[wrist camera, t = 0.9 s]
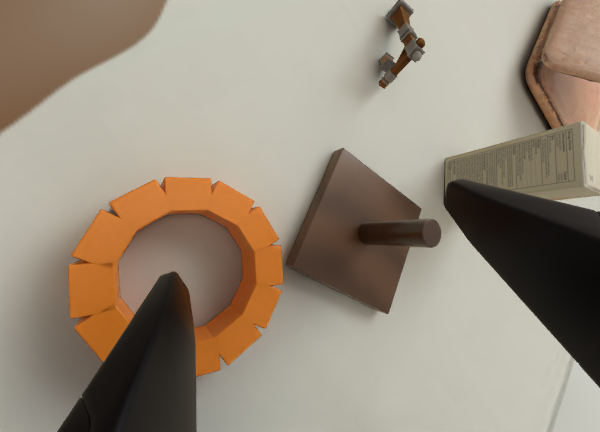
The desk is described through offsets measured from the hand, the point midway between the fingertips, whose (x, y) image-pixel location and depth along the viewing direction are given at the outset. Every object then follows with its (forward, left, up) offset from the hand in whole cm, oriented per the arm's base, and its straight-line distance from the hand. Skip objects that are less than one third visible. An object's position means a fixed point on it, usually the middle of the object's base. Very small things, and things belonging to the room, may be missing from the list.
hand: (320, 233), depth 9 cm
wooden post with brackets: (+22, -6, -12) cm, 26 cm away
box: (+16, -20, -12) cm, 28 cm away
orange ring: (-3, +1, -11) cm, 12 cm away
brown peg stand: (+5, -10, -11) cm, 16 cm away
